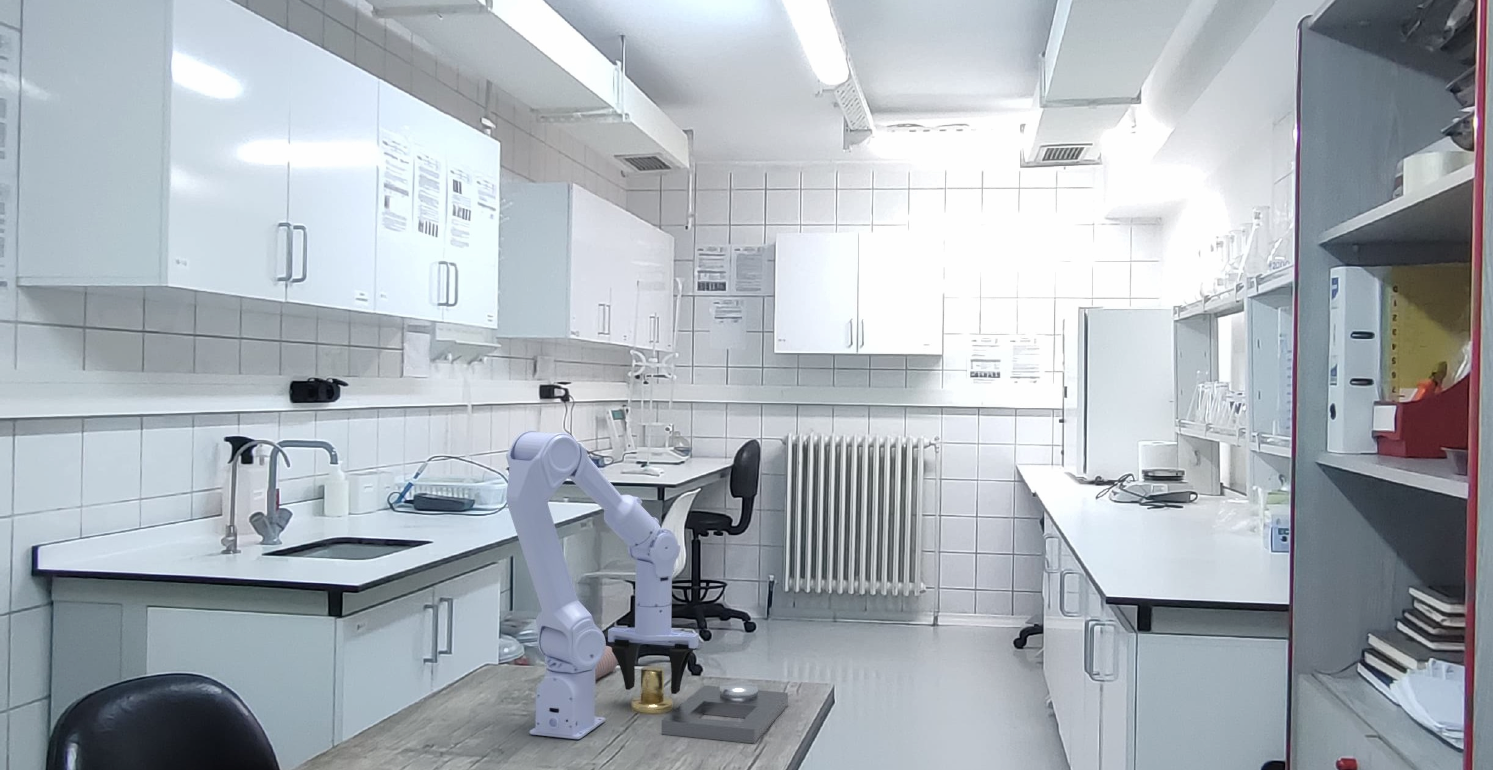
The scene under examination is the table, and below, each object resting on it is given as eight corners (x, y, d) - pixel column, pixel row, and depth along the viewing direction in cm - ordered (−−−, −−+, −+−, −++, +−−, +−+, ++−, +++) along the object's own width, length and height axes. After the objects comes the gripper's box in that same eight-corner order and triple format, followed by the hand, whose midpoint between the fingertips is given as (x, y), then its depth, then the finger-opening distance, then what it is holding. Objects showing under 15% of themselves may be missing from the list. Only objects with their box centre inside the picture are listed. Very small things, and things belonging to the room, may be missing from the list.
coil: (575, 671, 179) (622, 647, 196) (550, 666, 180) (598, 642, 197) (572, 700, 179) (619, 673, 196) (546, 694, 180) (595, 668, 197)
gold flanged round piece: (664, 716, 169) (664, 675, 169) (625, 712, 171) (625, 672, 171) (678, 704, 175) (679, 665, 175) (640, 701, 177) (640, 662, 177)
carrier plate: (754, 743, 156) (754, 718, 156) (661, 734, 160) (661, 710, 160) (787, 705, 175) (788, 683, 175) (704, 697, 179) (704, 676, 179)
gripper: (705, 601, 175) (704, 687, 175) (620, 596, 179) (619, 680, 179) (690, 610, 168) (689, 699, 168) (602, 604, 172) (602, 691, 172)
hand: (652, 690), depth 173 cm, fingers open, 7 cm apart
